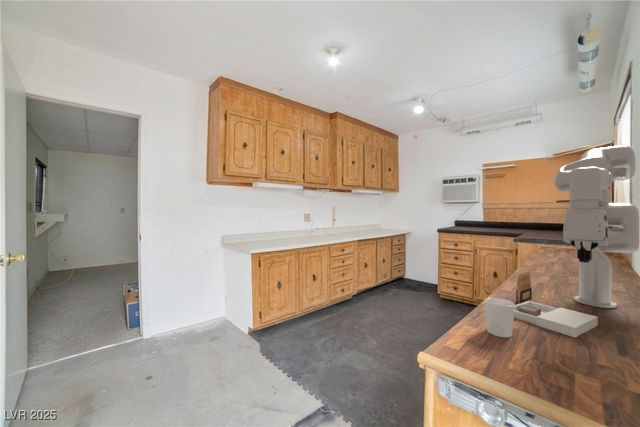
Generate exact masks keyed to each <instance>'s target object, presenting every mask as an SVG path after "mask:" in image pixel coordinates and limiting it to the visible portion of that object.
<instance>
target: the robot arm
mask: <svg viewBox="0 0 640 427" xmlns="http://www.w3.org/2000/svg"><path fill="white" fill-rule="evenodd" d="M636 167H637V166H636V154H635V151H634V149H633V148H632V147H631V146H629V145H614V146H607V147H598V148H592V149H589V150H586V151H585V152H584V153H582V155H581V156H580V159H579V160H576V161H574V162H571V163H569V164H566V165H563V166H561V167H560V168H559V169H558V170H557V172H556V175H555V178H554V186H555V188H556V190H557V191H559V192H561V193H562V192H563V193H568V194H569V198H568V199H569V200H568V201H569V202H568V203H569V204H568V205H569V206H568V207H569V208H568V209H566V212H565V216H564V220H563V227H562V228H563V229H562V234H563V235H562V236H563V240H562V241H563V242H564V243H567V244H570V245H572V246H573V247H574V248H575V249H576V250H577V255H576V256H577V259H578V261H579V262H578V266H579V267H578V268H579V270H578V272H579V273H578V295H575V296H574V297H573V300H574V301H575V302H577V303H579V304H582V305H585V306H591V307H594V308H595V307H596V308H604V309H615V308H617V306H618V304H617V303H616V302H614V301H612V273H613V272H612V270H613V266H612V261H611V260H610V258H609V257H608V256H607V255H605V254H604V253H617V254H618V253H619V254H634V253H636V252H637V251H638V250H639V248H640V212H639V209H638V207H637V206H636V205H635V204H633V203H628V202H627V203H626V202H623V203H622V202H616V203H615V202H612V191H611V190H610V189H609V187H611V185H612V184H613V182H614V181H625V180H630V179H632V178H633V177H634V176H635V174H636V171H637V170H636ZM609 227H618V228H609Z"/></svg>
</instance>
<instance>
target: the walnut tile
mask: <svg viewBox="0 0 640 427" xmlns="http://www.w3.org/2000/svg"><path fill="white" fill-rule="evenodd" d="M519 312H522V313H525V314H529V315H532V316H538V315H541V309H539V308H535V307H531V306H528V305H524V306H521V307H519Z"/></svg>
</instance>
